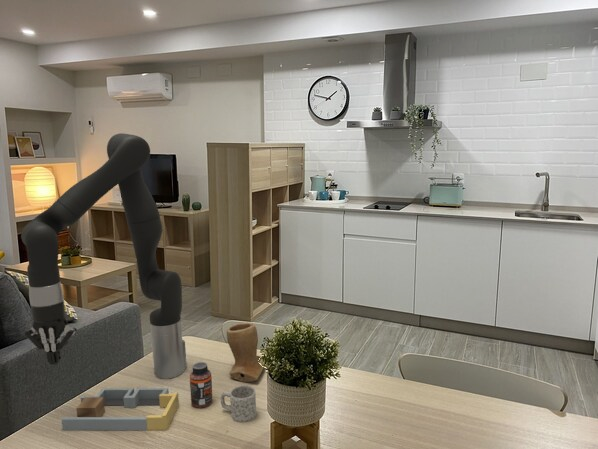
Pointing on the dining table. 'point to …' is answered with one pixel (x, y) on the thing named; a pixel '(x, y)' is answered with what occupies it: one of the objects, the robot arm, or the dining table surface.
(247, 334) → the tan boot vase
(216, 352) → the dining table surface
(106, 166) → the robot arm
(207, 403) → the supplement bottle
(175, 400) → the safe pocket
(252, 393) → the mug
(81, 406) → the walnut block
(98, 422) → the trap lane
